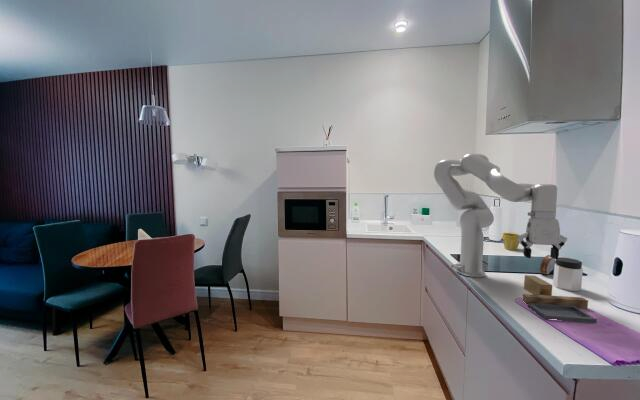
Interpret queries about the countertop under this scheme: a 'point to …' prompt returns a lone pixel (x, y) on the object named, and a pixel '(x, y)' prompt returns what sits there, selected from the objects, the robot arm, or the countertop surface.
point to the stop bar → (537, 285)
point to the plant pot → (510, 241)
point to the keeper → (562, 313)
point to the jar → (568, 274)
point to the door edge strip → (556, 300)
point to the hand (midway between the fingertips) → (540, 257)
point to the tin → (547, 265)
